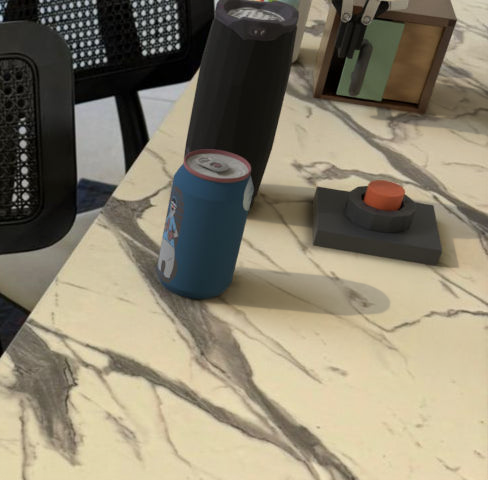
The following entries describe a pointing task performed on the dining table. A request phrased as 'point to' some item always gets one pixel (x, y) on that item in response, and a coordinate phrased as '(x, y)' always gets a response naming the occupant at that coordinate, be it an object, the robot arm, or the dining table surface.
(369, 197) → the button
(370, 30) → the sliding door
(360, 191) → the control block
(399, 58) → the cabinet
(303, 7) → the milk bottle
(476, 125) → the dining table surface
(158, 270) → the soda can
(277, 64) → the portable speaker
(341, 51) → the robot arm
